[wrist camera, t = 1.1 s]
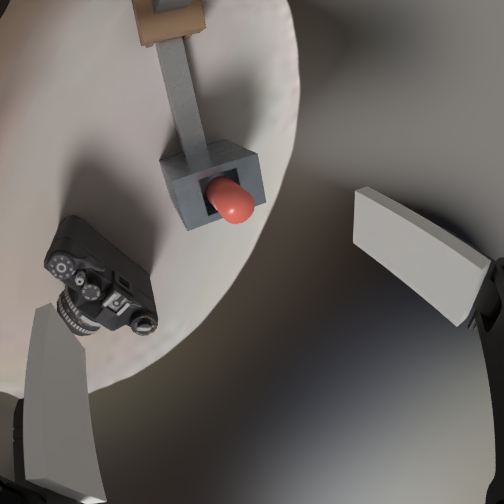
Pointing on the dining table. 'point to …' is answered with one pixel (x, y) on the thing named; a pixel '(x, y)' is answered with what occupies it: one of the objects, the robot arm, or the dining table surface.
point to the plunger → (230, 199)
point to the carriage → (167, 19)
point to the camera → (98, 283)
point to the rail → (199, 147)
